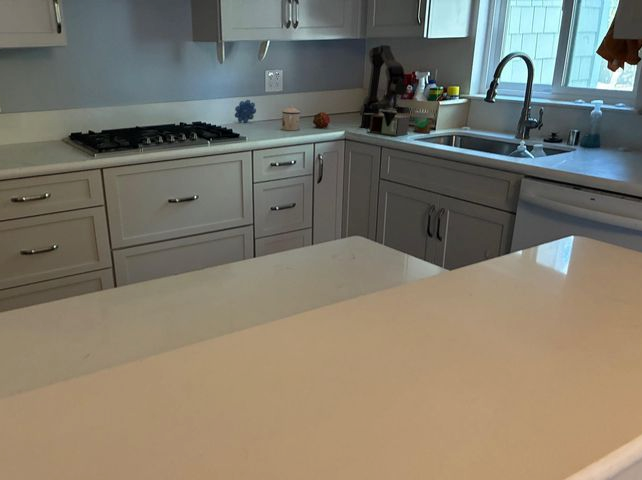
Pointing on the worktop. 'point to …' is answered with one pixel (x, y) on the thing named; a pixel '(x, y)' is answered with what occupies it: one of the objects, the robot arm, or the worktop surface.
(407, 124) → the cabinet
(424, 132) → the food container
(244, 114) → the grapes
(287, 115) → the teacup with lid
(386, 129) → the sliding door
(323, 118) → the dragon fruit
